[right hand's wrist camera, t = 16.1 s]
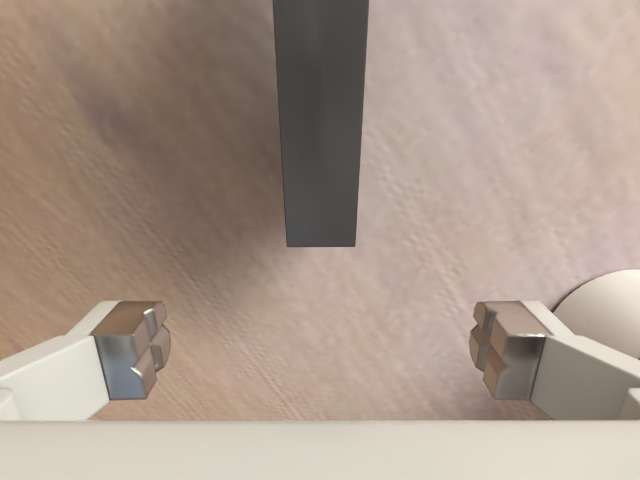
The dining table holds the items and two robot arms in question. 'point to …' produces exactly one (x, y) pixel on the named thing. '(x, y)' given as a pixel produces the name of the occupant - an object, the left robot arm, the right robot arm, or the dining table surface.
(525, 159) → the dining table surface
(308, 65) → the bar
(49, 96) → the dining table surface
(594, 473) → the right robot arm
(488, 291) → the dining table surface
